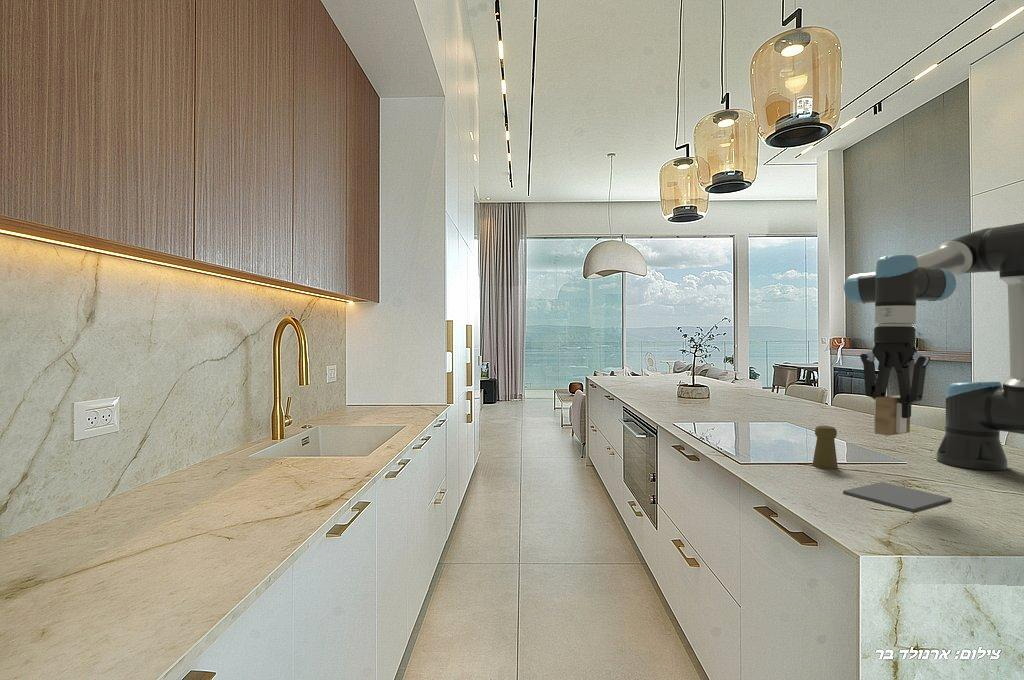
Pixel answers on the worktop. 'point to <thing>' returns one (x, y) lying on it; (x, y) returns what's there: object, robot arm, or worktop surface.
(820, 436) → the cork
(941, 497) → the mat
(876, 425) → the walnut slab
